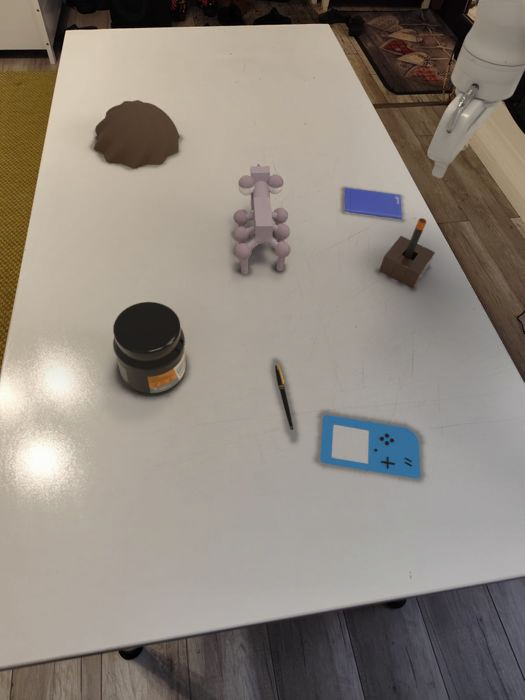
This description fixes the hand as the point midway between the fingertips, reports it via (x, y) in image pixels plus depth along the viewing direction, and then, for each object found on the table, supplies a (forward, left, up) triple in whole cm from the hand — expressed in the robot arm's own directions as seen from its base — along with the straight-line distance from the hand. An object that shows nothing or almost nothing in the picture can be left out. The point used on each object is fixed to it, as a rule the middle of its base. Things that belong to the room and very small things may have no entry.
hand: (449, 161), depth 82 cm
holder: (0, 0, -25) cm, 25 cm away
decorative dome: (+67, +2, -25) cm, 72 cm away
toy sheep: (+27, +11, -25) cm, 39 cm away
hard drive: (+14, -14, -25) cm, 32 cm away
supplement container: (+23, +47, -25) cm, 58 cm away
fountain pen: (+3, +39, -25) cm, 46 cm away
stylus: (0, 0, -25) cm, 25 cm away
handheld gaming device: (-12, +38, -25) cm, 47 cm away
